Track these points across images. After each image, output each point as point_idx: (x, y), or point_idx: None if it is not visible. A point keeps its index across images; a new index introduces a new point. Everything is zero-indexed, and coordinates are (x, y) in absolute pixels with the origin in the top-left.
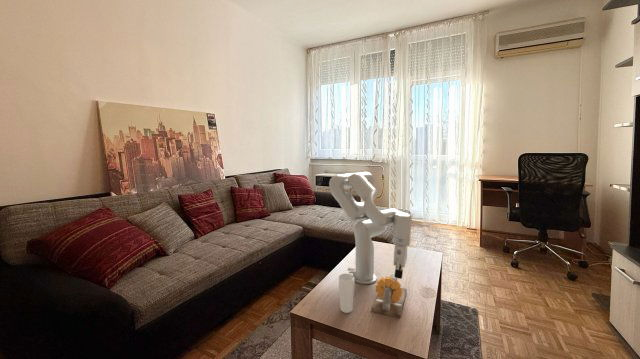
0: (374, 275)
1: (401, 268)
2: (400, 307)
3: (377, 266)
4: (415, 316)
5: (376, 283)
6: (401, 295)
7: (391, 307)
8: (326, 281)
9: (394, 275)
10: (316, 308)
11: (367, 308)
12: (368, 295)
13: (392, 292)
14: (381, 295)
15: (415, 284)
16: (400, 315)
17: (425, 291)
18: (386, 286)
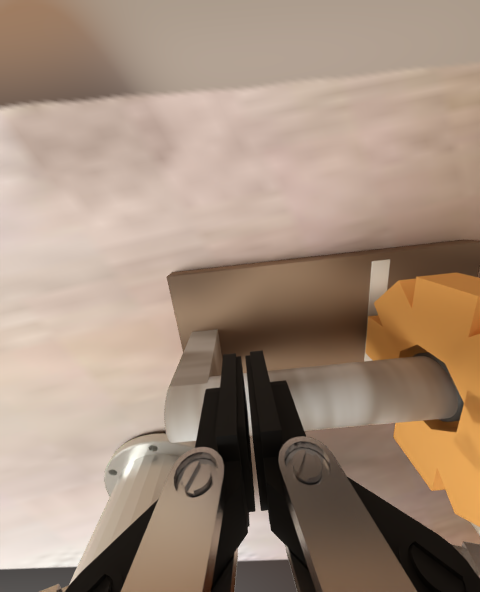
0: (124, 457)
1: (371, 520)
2: (405, 259)
3: (5, 466)
4: (423, 159)
5: (437, 489)
6: (447, 275)
7: None
8: (275, 558)
9: None
10: (464, 520)
11: None
12: None
13: (413, 347)
14: None
15: (44, 241)
16: (458, 242)
17: (89, 155)
18: (459, 420)
